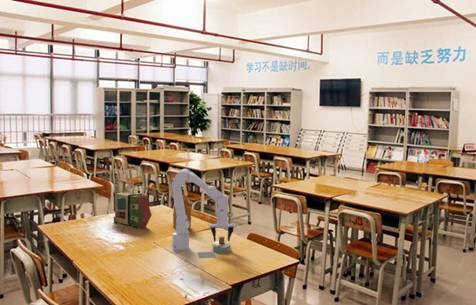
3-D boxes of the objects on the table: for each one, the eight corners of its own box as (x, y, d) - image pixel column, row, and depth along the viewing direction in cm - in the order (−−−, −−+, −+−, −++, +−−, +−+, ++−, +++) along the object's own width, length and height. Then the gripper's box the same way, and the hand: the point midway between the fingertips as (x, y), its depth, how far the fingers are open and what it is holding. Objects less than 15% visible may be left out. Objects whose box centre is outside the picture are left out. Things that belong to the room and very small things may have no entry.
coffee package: (184, 224, 292) (185, 191, 290) (192, 228, 281) (193, 195, 279) (170, 225, 287) (171, 192, 284) (178, 230, 276) (179, 196, 274)
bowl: (213, 253, 235) (213, 248, 234) (211, 247, 244) (211, 242, 244) (231, 253, 236) (231, 247, 236) (228, 247, 246) (228, 242, 245)
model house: (109, 192, 287) (141, 197, 269) (120, 190, 294) (151, 195, 277) (110, 223, 288) (141, 231, 271) (120, 221, 296) (151, 228, 279)
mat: (199, 258, 226) (199, 258, 226) (197, 253, 235) (197, 252, 235) (216, 258, 228) (216, 257, 227) (213, 252, 236) (213, 251, 236)
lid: (213, 247, 235) (214, 239, 234) (212, 242, 243) (213, 234, 243) (230, 247, 236) (230, 239, 235) (229, 242, 244) (229, 234, 244)
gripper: (209, 218, 233) (209, 243, 234) (236, 218, 236) (235, 242, 237) (208, 215, 240) (207, 239, 241) (234, 215, 242) (233, 238, 244)
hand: (221, 240), depth 240 cm, fingers open, 7 cm apart
